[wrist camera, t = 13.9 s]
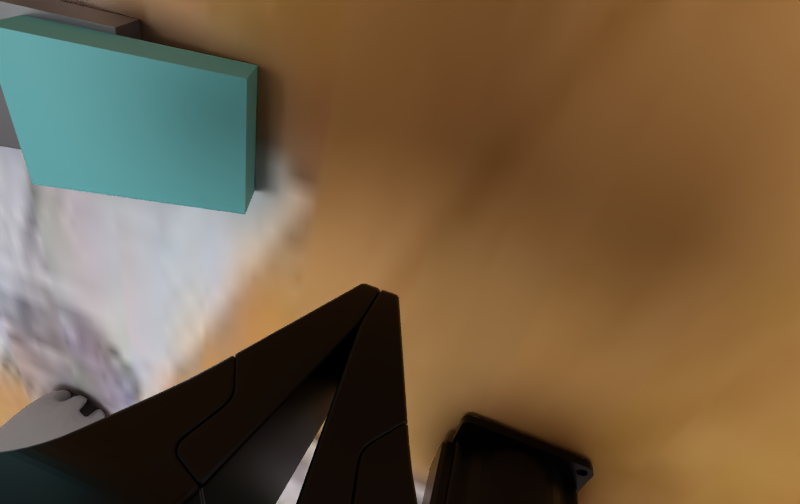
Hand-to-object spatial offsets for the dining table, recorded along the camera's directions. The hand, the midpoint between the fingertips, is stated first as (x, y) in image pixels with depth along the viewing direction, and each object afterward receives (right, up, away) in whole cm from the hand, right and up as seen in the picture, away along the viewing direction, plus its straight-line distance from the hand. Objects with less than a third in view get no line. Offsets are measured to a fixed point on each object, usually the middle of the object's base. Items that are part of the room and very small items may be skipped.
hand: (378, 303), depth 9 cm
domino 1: (-5, +5, +6) cm, 9 cm away
